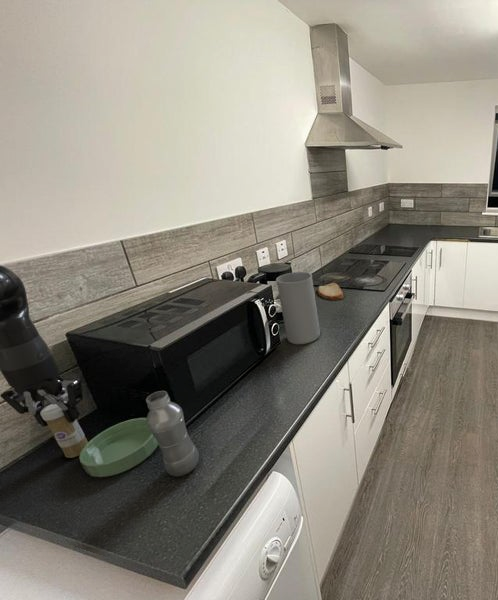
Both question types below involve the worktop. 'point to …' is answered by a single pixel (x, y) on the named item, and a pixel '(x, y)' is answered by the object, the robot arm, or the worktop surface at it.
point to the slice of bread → (330, 292)
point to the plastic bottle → (171, 434)
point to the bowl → (118, 448)
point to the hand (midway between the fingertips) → (61, 421)
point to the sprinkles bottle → (64, 431)
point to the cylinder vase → (298, 307)
